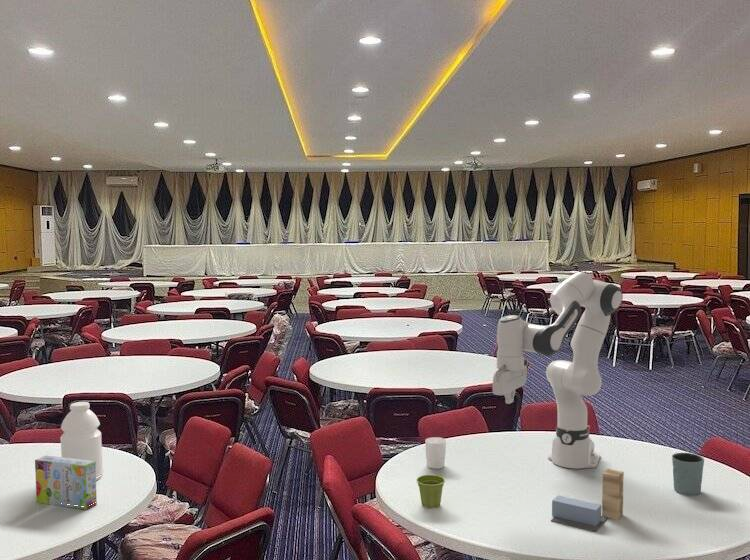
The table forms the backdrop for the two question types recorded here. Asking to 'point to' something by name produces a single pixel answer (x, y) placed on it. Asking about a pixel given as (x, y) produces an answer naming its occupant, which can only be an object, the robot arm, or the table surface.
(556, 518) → the mat
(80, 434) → the bottle
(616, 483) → the oak pillar
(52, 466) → the snack box
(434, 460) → the white cup
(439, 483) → the plant pot
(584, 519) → the slate pillar
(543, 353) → the robot arm
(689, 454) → the teal embossed cup
